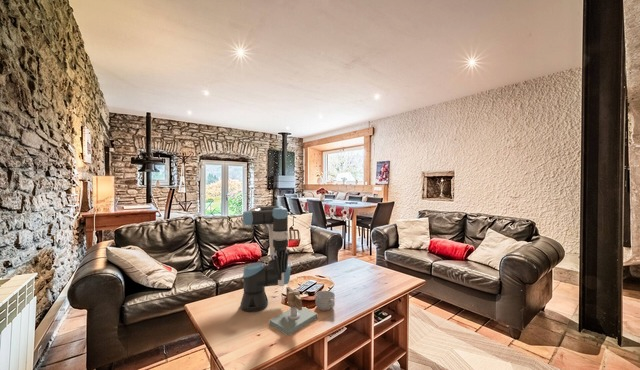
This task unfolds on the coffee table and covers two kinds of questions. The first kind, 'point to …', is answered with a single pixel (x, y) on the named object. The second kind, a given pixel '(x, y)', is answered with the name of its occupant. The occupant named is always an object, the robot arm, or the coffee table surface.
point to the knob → (294, 298)
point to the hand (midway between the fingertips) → (281, 285)
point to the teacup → (324, 300)
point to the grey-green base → (293, 320)
